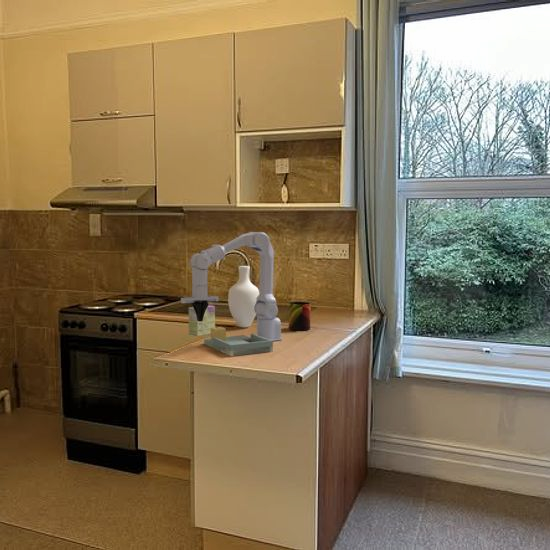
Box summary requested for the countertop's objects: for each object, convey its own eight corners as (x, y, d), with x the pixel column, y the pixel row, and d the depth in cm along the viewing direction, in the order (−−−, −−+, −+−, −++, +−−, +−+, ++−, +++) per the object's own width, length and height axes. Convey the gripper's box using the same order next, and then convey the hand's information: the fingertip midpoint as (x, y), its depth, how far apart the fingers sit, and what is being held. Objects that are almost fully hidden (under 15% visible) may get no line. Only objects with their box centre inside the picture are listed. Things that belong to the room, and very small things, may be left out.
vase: (229, 324, 261) (229, 265, 259) (259, 324, 261) (259, 265, 259) (227, 329, 247) (227, 267, 244) (259, 330, 247) (259, 267, 245)
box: (206, 331, 243) (206, 304, 242) (215, 333, 240) (215, 305, 239) (188, 334, 235) (188, 307, 234) (197, 336, 232) (197, 308, 231)
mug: (305, 325, 259) (305, 300, 258) (312, 331, 245) (312, 304, 244) (284, 326, 257) (285, 300, 256) (291, 332, 243) (291, 304, 242)
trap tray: (243, 339, 225) (243, 329, 225) (272, 351, 204) (272, 340, 204) (204, 343, 217) (204, 333, 217) (230, 356, 196) (230, 345, 196)
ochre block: (221, 338, 218) (221, 326, 218) (225, 340, 214) (225, 328, 214) (210, 339, 216) (210, 327, 215) (215, 341, 212) (215, 329, 212)
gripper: (213, 283, 217) (213, 318, 218) (177, 285, 209) (178, 320, 210) (220, 285, 210) (220, 320, 212) (184, 287, 203) (184, 323, 204)
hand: (200, 321), depth 211 cm, fingers closed
